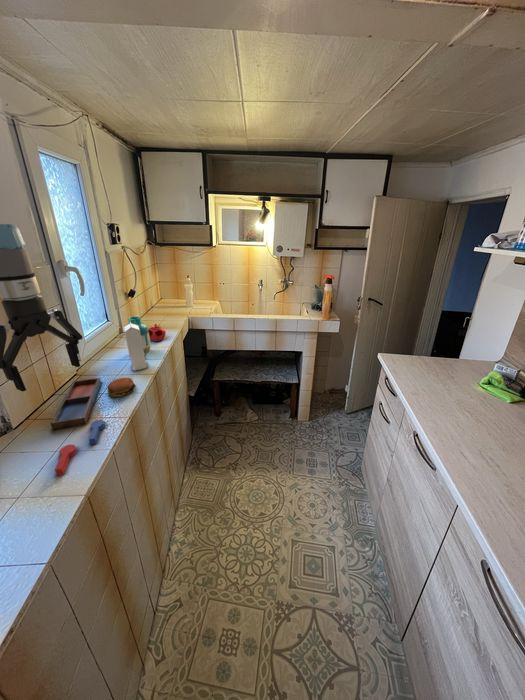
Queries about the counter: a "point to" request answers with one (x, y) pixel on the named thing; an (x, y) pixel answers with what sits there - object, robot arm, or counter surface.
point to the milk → (135, 347)
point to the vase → (142, 332)
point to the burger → (121, 387)
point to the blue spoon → (96, 430)
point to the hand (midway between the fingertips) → (50, 376)
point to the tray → (77, 404)
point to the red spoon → (65, 458)
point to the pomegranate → (156, 333)
